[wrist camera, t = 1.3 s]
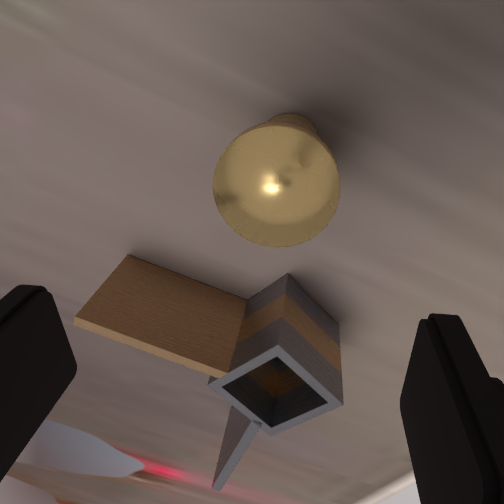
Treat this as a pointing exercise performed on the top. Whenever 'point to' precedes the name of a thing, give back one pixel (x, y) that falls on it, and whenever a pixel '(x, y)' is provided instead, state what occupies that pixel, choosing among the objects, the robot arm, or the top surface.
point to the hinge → (228, 346)
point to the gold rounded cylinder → (277, 182)
